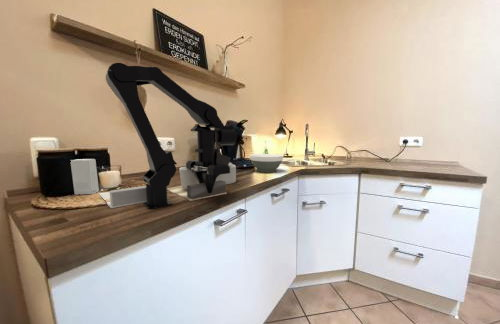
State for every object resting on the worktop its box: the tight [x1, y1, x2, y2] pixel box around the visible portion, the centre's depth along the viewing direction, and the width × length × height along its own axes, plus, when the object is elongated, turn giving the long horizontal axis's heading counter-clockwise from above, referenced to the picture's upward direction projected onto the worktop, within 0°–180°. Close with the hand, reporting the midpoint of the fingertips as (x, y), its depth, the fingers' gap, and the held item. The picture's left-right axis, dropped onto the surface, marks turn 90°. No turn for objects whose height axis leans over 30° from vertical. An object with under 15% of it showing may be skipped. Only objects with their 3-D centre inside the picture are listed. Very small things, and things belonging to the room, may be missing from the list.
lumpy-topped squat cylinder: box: [216, 162, 237, 185], centre depth 99 cm, size 10×13×9 cm
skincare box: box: [70, 158, 100, 196], centre depth 78 cm, size 6×4×12 cm
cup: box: [178, 166, 199, 190], centre depth 85 cm, size 11×8×8 cm
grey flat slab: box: [98, 185, 147, 209], centre depth 74 cm, size 20×14×4 cm
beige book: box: [167, 180, 228, 202], centre depth 81 cm, size 20×14×4 cm
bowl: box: [249, 153, 284, 174], centre depth 130 cm, size 20×20×10 cm
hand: (207, 192), depth 75 cm, fingers closed on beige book, 3 cm apart
